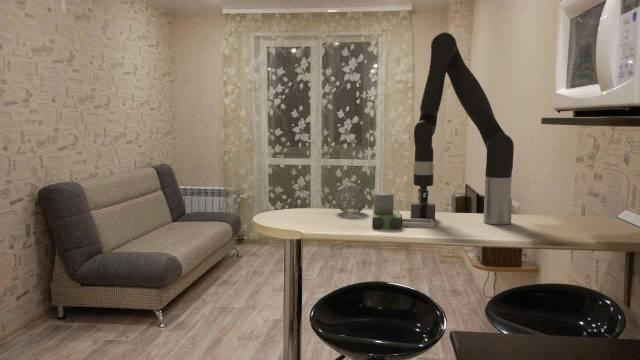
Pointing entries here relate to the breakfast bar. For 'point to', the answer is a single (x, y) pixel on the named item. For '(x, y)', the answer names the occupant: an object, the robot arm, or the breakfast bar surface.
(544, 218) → the breakfast bar surface
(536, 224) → the breakfast bar surface
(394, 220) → the toy tractor
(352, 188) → the pendant light
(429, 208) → the grey rectangular block
